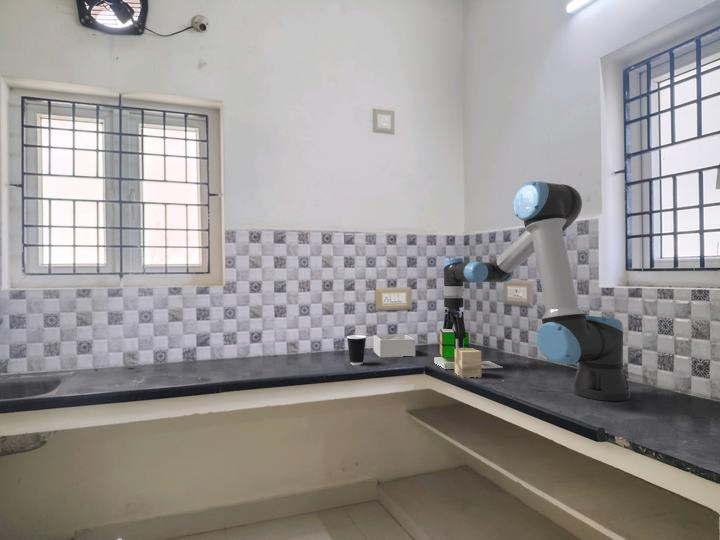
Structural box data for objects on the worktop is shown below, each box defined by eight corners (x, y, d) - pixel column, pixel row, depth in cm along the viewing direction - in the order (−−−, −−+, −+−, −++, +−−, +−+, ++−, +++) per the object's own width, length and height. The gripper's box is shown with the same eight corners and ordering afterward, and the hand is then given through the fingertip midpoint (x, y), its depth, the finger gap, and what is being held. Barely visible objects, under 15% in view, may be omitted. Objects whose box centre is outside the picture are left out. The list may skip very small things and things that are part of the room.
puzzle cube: (465, 354, 176) (464, 329, 176) (469, 358, 166) (468, 332, 166) (439, 353, 177) (439, 329, 177) (442, 358, 167) (442, 332, 167)
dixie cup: (368, 365, 173) (368, 337, 173) (349, 366, 171) (349, 338, 171) (363, 361, 181) (363, 334, 181) (344, 362, 179) (344, 335, 179)
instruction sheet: (503, 367, 169) (503, 367, 169) (481, 368, 167) (481, 367, 167) (489, 361, 180) (489, 361, 180) (468, 362, 179) (468, 361, 179)
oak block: (481, 377, 153) (481, 351, 153) (462, 378, 152) (462, 352, 152) (473, 373, 160) (473, 348, 160) (454, 373, 159) (454, 348, 159)
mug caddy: (415, 356, 192) (415, 339, 192) (380, 357, 190) (380, 340, 190) (406, 350, 208) (405, 334, 208) (373, 351, 205) (373, 335, 205)
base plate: (474, 368, 167) (474, 362, 167) (444, 369, 165) (444, 363, 165) (462, 362, 179) (462, 356, 179) (434, 363, 177) (434, 357, 177)
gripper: (475, 298, 161) (475, 358, 161) (452, 295, 184) (452, 348, 184) (455, 298, 160) (456, 359, 160) (434, 295, 183) (435, 348, 183)
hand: (454, 353), depth 172 cm, fingers closed on puzzle cube, 11 cm apart
